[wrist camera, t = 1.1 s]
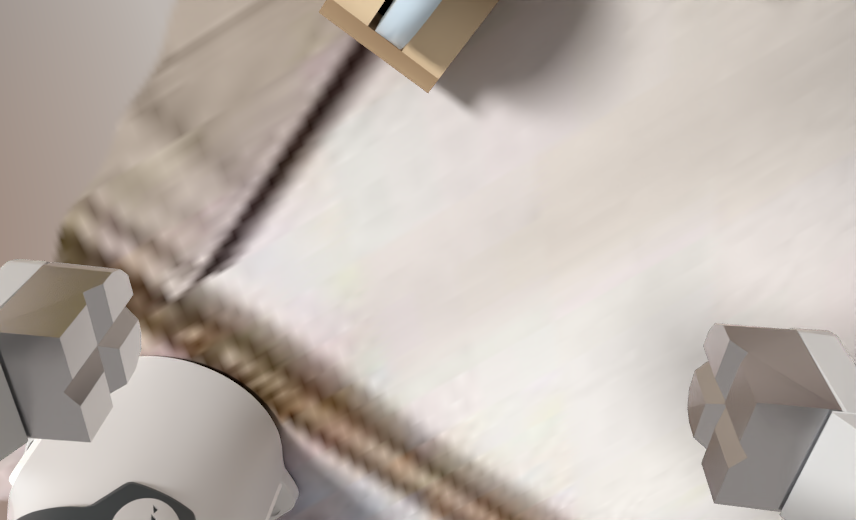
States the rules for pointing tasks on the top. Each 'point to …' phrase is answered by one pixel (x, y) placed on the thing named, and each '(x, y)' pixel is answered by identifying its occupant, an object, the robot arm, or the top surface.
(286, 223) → the top surface
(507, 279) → the top surface
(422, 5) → the blue plate
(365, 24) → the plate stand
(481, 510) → the top surface
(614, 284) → the top surface
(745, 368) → the robot arm
